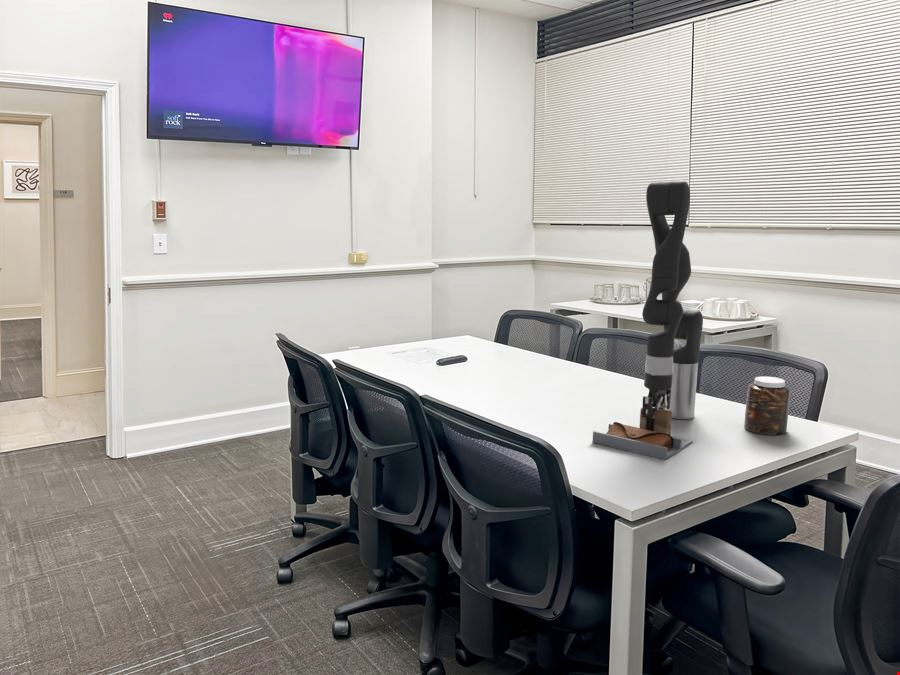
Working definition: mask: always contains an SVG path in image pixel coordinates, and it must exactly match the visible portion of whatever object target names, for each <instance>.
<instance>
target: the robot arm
mask: <svg viewBox="0 0 900 675" xmlns="http://www.w3.org/2000/svg"><path fill="white" fill-rule="evenodd" d="M690 190H691V189H690V186H689V183H688V182H687V181H686V180H665V181H664V180H663V181H653V182H650V183H649V184H648V185H647V187H646V207H647V212H648V217H649V221H650V226H651V229H652V234H653V240H654V248H655V254H654V257H653V259H652V265H651V266H652V269H651V281H650V287H649V288H650V289H649V292H648V295H647V298H646V301H645V303H644V306H643V309H642V313H641V314H642V319H643V322H644V323H646V325H650V326H651V325H652V326H662V327H663V330H664V331H661V332H660V331H659V332H655V333H651V334H649V335H648V337H647V345H646V346H647V349H646V357H645V361H644V362H645V366H644V378H643V379H644V380H643V381H644V382H643V385H644V387H645V388H646V389H648V394H647V396H645V395H644V396H642V407H641V408H642V417H645V418H646V428H645V429H646V430H650V431H654V421H655V419H654V418H655V415H656V412H658V411H659V409H661V410H667V411H672V419H677V420H690V419H693V418H695V412H696V411H695V410H696V409H695V408H696V396H697V395H696V394H697V382H698V368H699V358H700V357H699V356H700V351H701V341H702V334H703V333H702V331H703V326H704V317H703V314H702V312H701V311H699V310H697V309H689V308H688V309H687V308H684V307H683V305H682V303H681V302H680V301H678V300H677V299H678V298H679V295H680V293H681V291H682V290H683V289H684V288H685V286H686V284H687V283H688V281H689V280H690V277H691V274H692V266H691V258H690V257H691V256H690V251H689V249H688V248H687V246H686V244H684V238H685V231H686V227H687V222H688V217H689V211H690V205H691V204H690V203H691V191H690ZM666 216H673V217H674V218H673V222H672V224H671V225H672V226H671V227H670V225H669V224H668V221H667V219H666ZM660 295H661V299H658V296H660ZM675 339H676V340H678V339H679V340H683V341H684V340H685V341H686V342H685V345H683V346H682V347H678V348H675ZM652 411H653V413H652Z"/></svg>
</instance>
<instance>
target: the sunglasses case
mask: <svg viewBox="0 0 900 675" xmlns="http://www.w3.org/2000/svg"><path fill="white" fill-rule="evenodd" d="M605 434H609V435H613V436H618V437H622V438H627V439H631V440H635V441H640V442H644V443H649V444H653V445H658V446H662V447H667V448H668V449H667V451H669V450H671V449H672V447H673V438H672V436H673V435H669V434H666V433H661V432H654V431H650V430H646V429H642V428H639V427H636V426H631V425H627V424H623V423H620V422H618V421H614V422H613V425H612V426H611V428H610V429H609V430H608V429H607V432H606V433H605Z"/></svg>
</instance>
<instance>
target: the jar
mask: <svg viewBox="0 0 900 675" xmlns="http://www.w3.org/2000/svg"><path fill="white" fill-rule="evenodd" d="M790 398H791V389H790V388H789V387H788V386H786V381H785V380H784V379H783V378H780V377H775V376H756V377H754V381H753V383H752V382H751V383H750V384H749V385H748V387H747V393H746V403H745V412H744V413H745V414H744V423H743V425H744V426H743V427H744V429H745V430H746V431H748V432H750V433H754V434H758V435H763V436H781V435H785V434H786V433H787V430H788V422H789V421H788V420H789V410H790Z"/></svg>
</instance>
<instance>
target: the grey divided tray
mask: <svg viewBox="0 0 900 675" xmlns="http://www.w3.org/2000/svg"><path fill="white" fill-rule="evenodd" d="M652 413H653V411H652ZM654 419H655V421H654V432H661V433H666V434H669V435H671V434H672V433H671V432H672V420H673V418H672V411H667V410H661V409H659V411H658V412H656V415H655V418H654ZM612 425H613V424H612V423H608V427H607V428H608V429H607V431H608V430H609V429H610V428H611V426H612ZM638 428H642V429H645V428H646V418H645V417H642V407H641V408H640V415H639V427H638ZM671 436H672V438H673V447H672V449H671V450H669V451H667V449H668V448H667V447H662V446H658V445H653V444H649V443H644V442H640V441H635V440H631V439H627V438H622V437H618V436H613V435H609V434H606V433H604V432H599V431H595V430H593V432H592V443H593V444H598V445H602V446H607V447H609V448H610V447H611V448H616V449H620V450H624V451H627V452H632V453H636V454H640V455H644V456H650V457H653V458H656V459H662V460H667V459H669V458H671V457H672V456H673V455H676V454H677V453H679V452H680V451H681V450H683V449H685V448H687V447H688V446H689V445H691V444H693V443H694V440H692V439H689V438H688V439H687V438H683V437H680V436H679V437H678V436H674V435H671Z"/></svg>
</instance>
